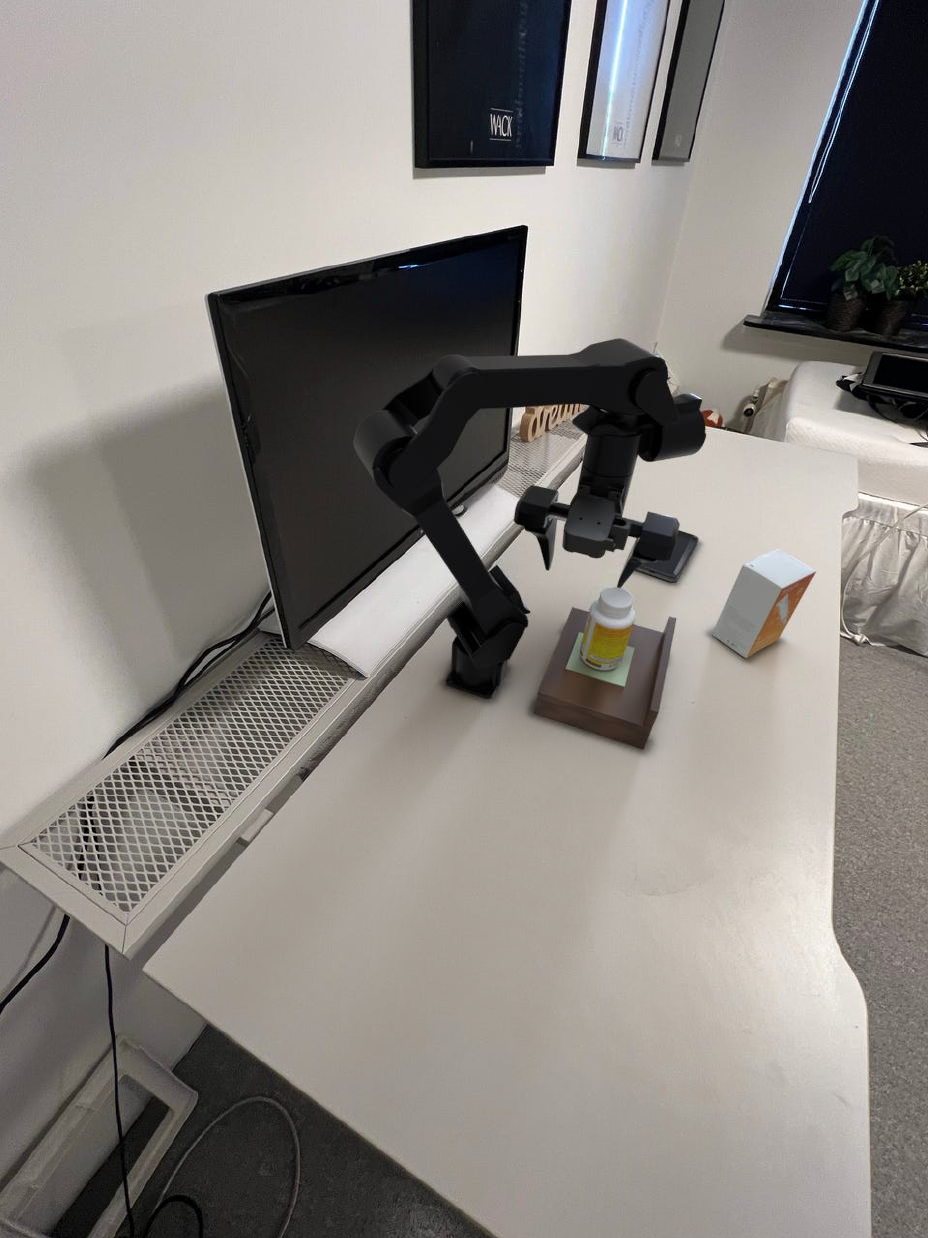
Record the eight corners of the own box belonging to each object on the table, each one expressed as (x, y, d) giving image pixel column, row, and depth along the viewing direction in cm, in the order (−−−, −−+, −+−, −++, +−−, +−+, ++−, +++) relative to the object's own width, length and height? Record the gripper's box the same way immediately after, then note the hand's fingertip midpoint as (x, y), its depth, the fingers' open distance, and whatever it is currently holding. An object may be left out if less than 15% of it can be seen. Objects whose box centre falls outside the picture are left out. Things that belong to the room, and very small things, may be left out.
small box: (746, 660, 85) (782, 588, 76) (710, 634, 89) (741, 563, 80) (779, 640, 89) (818, 570, 80) (744, 616, 92) (777, 547, 84)
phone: (700, 536, 107) (677, 578, 97) (698, 542, 108) (675, 583, 98) (657, 523, 110) (630, 562, 100) (655, 528, 111) (629, 567, 101)
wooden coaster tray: (533, 713, 76) (540, 675, 71) (567, 627, 88) (576, 590, 84) (643, 749, 72) (658, 712, 68) (662, 654, 85) (676, 617, 80)
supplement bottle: (629, 667, 77) (649, 606, 70) (591, 676, 75) (608, 615, 68) (607, 639, 81) (624, 579, 74) (571, 647, 79) (585, 587, 72)
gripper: (505, 478, 62) (493, 594, 73) (686, 520, 58) (646, 637, 68) (535, 438, 70) (520, 547, 81) (696, 472, 66) (659, 583, 76)
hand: (582, 577), depth 76 cm, fingers open, 9 cm apart
